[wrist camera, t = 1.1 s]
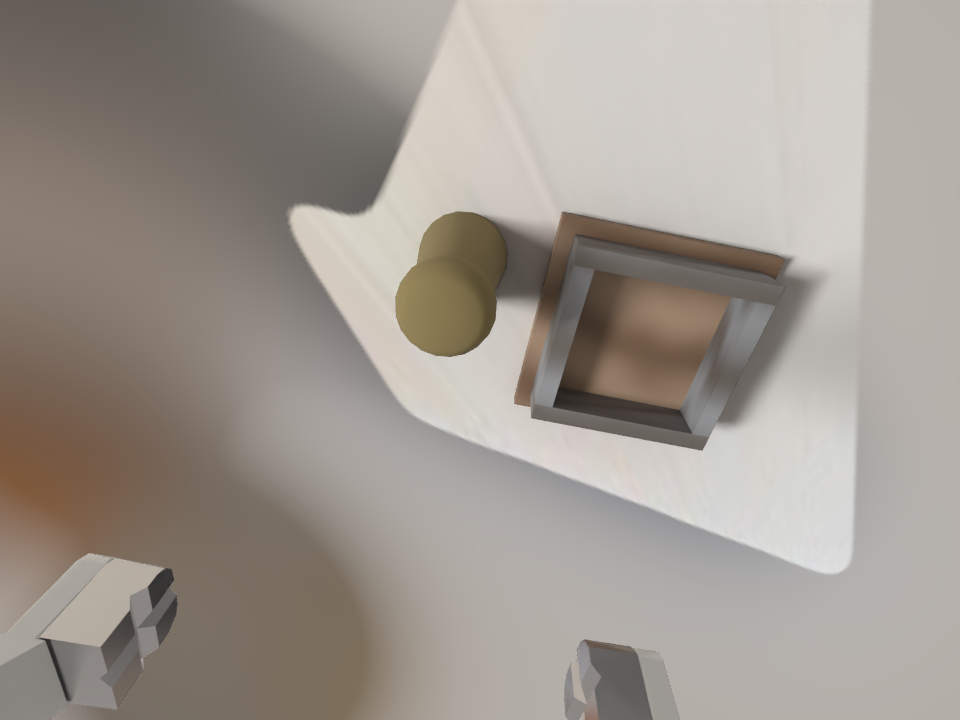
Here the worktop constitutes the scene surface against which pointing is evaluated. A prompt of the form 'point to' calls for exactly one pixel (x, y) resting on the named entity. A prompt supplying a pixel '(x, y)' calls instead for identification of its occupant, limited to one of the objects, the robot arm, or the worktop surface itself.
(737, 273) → the grey-rimmed square tray
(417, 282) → the cork
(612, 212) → the worktop surface
